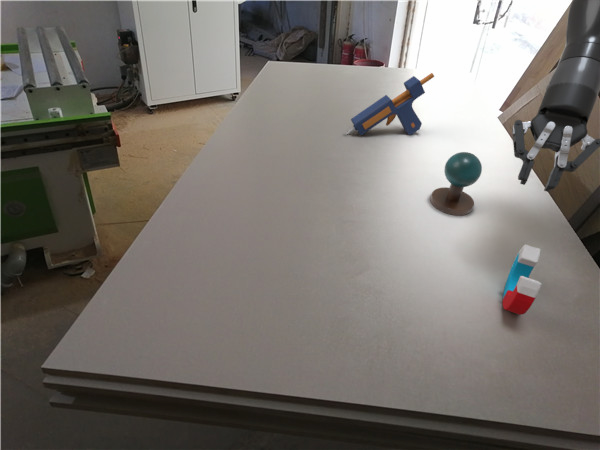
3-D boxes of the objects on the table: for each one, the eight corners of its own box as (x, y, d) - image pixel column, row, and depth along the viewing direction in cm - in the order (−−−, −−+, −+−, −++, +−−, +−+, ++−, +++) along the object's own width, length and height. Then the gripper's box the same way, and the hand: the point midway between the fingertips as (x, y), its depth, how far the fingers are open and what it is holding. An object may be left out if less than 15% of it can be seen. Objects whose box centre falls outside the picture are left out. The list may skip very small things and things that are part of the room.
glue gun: (361, 159, 135) (339, 126, 126) (438, 102, 131) (422, 64, 122) (368, 167, 131) (347, 134, 121) (449, 108, 126) (433, 69, 117)
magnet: (504, 279, 79) (524, 240, 72) (519, 284, 78) (541, 245, 72) (500, 323, 70) (523, 282, 64) (517, 329, 69) (542, 288, 63)
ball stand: (475, 200, 101) (494, 151, 92) (467, 220, 94) (487, 169, 85) (436, 188, 104) (451, 140, 96) (425, 206, 97) (440, 156, 89)
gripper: (531, 72, 67) (494, 166, 66) (629, 91, 62) (591, 194, 61) (522, 94, 74) (488, 180, 73) (609, 113, 69) (575, 205, 68)
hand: (535, 186), depth 67 cm, fingers open, 3 cm apart
